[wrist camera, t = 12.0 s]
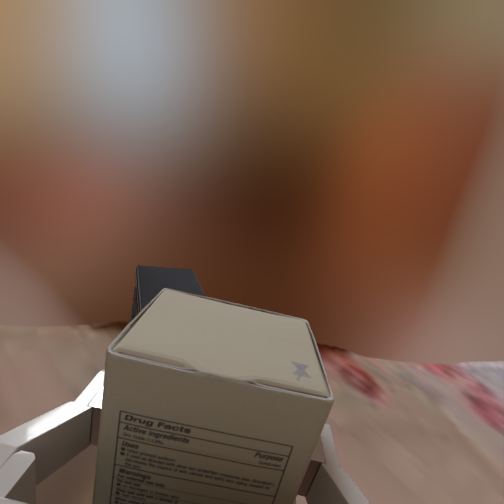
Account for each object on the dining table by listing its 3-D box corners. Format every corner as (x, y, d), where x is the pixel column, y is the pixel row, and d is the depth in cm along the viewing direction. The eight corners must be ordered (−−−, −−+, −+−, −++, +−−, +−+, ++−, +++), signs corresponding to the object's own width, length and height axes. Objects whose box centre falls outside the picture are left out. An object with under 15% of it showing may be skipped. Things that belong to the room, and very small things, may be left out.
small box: (200, 414, 26) (223, 322, 22) (124, 430, 23) (138, 326, 19) (180, 340, 34) (195, 266, 31) (124, 344, 31) (133, 263, 28)
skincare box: (244, 517, 14) (316, 318, 11) (237, 657, 10) (351, 405, 7) (125, 491, 14) (163, 280, 11) (68, 624, 10) (102, 345, 7)
